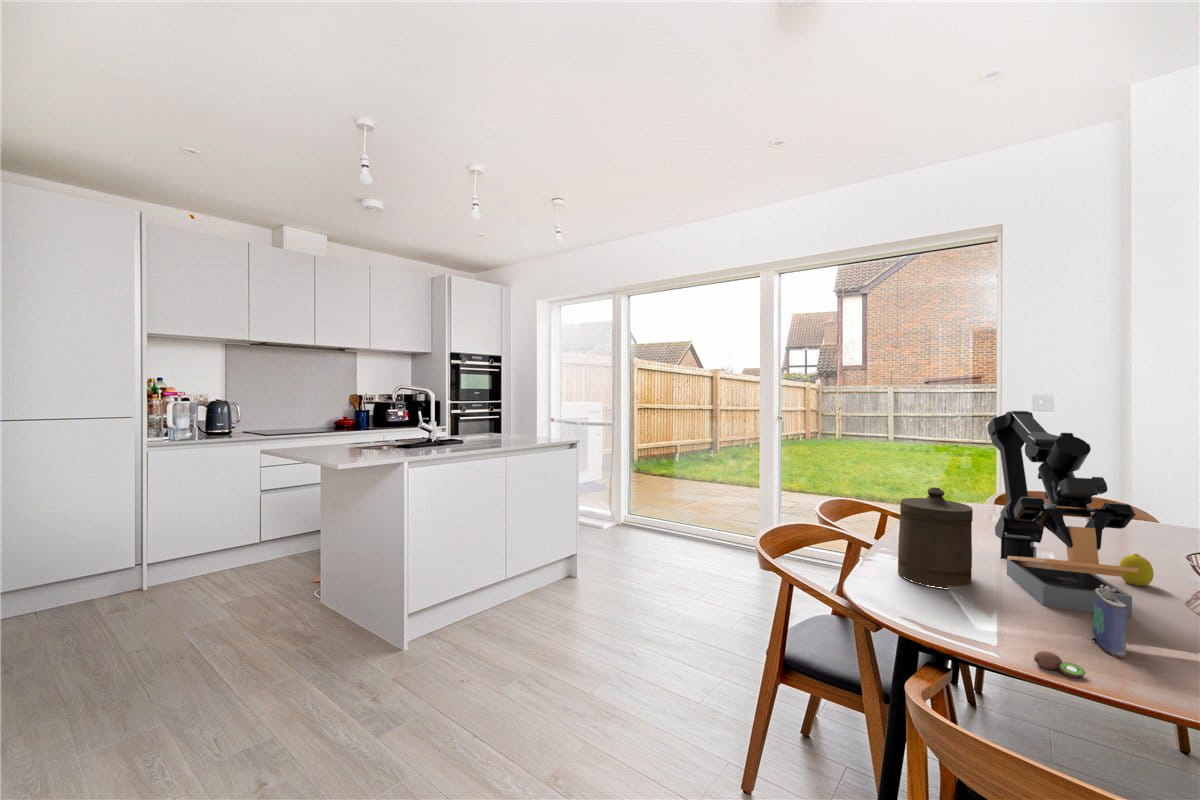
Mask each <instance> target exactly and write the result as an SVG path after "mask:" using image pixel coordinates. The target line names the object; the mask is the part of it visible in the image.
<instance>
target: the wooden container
mask: <svg viewBox="0 0 1200 800" xmlns="http://www.w3.org/2000/svg"><path fill="white" fill-rule="evenodd" d="M945 493H946V492H945V491H944V490H942V489H941V488H940V487H934V486H933V487H930V488H928V489H927V495H928V496H926V497H908V498H907V497H906V498H902V499H901V500H900V507H899V510H900V512H899V513H900V514H899V526H898V527H899V528H898V529H899V531H898V544H897V545H898V551H897V557H898V558H897V574H898V573H899V574H900V575H901V576H903V577H905V578H907V579H909V580H912V581H914V582H917V583H921V584H924V585H929V586H935V587H942V588H950V587H964V586H969V585H971V583H972V575H973V573H972V568H973V545H972V544H973V543H972V541H973V539H972V534H973V533H972V528H973V527H972V523H973V517H974V514H973V507H972V506H970V505H969V504H965V503H962V502H959V501H958V502H957V501H952V500H946V499H945V498H944V496H945ZM899 574H898V575H899ZM900 575H899V576H900ZM901 576H900V577H901ZM903 577H902V578H903Z"/></svg>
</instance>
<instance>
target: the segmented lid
mask: <svg viewBox="0 0 1200 800" xmlns="http://www.w3.org/2000/svg"><path fill="white" fill-rule="evenodd" d="M1066 527H1067V529H1068V532H1069V534H1070V536H1071V539H1072V543H1073V546H1072V548H1069V547H1068V546H1067V545H1066V544H1065V546H1066V554H1067V560H1065V559H1064V560H1063V559H1052V558H1051V559H1050V558H1044V557H1043V558H1041V557H1036V558H1030V557H1017V556H1008V559H1010V560H1019V564H1020V565H1022V566H1026V567H1035V568H1044V569H1053V570H1062V571H1071V572H1081V573H1090V574H1096V575H1098V576H1099V575H1101V576H1108V577H1120V578H1122V577H1123V571H1130V572H1139V571H1138V568H1133V567H1123V566H1119V565H1113V564H1102V563H1101V564H1100V561H1099V550H1098V549H1097V540H1096V531H1095V528H1085V526H1083V527H1082V526H1071V525H1069V526H1067V525H1066Z"/></svg>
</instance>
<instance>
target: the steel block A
mask: <svg viewBox="0 0 1200 800" xmlns="http://www.w3.org/2000/svg"><path fill="white" fill-rule="evenodd" d="M1053 585H1055V586H1060V587H1066V588H1075V589H1083V590H1084V583H1082V582H1081V581H1079V580H1078V579H1076V578H1072V577H1063V576H1053Z"/></svg>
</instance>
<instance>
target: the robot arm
mask: <svg viewBox="0 0 1200 800" xmlns="http://www.w3.org/2000/svg"><path fill="white" fill-rule="evenodd" d="M987 432H988V435H989V436H990V440H991V443H992V444H993V445H994V446H995V447H996V448H997V450H999V452H1000V453H999V454H1000V460H1001V467H1002V477H1003V483H1004V484H1003V485H1004V491H1005V498H1006V499H1005V501H1006V503H1005V505H1004V506H1003V508H1002V509H1001V511H1000V516H999V518H998V520H997V522H996V524H995V526H994V531H995V532H994V533H995V536H996V537H997V538H999V539H1000V557H999V559H1002V560H1007V558H1008V556H1017V557H1030V558H1037V547H1036V546H1035V543H1036V544H1037V543H1039V544H1041V543H1042V538H1043V535H1044V528H1046V529H1047V530H1048V531H1049V532H1051V533H1052V534H1053V535H1055V537H1057V538H1058V540H1060V541H1061V542H1062V543H1063V544H1065V546H1066V545H1067V546H1068V547H1069V548H1072V546H1073V543H1072V539H1071V536H1070V534H1069V532H1068V529H1067V527H1066V526H1067V525H1066V523H1065V520H1064V517H1069V518H1081V519H1082V518H1084V519H1085V520H1086V524H1085V526H1084V527H1085V528H1095V531H1096V540H1097V549H1098V551H1100V550H1101V548H1102V537H1103V530H1104V529H1107V528H1108V529H1125V528H1126V527H1127V526H1128V524H1129V523H1130V522H1131V521H1132V520H1133V518H1134V517H1135V516H1136V512H1135V510H1134V508H1133V506H1131V505H1130V504H1128V503H1122V502H1107V501H1105V502H1104V504H1103V505H1102V506H1101V507H1100V508H1095V507H1089V506H1088V505H1091V504H1092V502H1093V499H1092V497H1094V496H1098V495H1103V494H1104V493H1107V492H1108V490H1109V489H1108V484H1107V482H1106V479H1104V477H1102V476H1092V477H1089V478H1088V477H1087V478H1086V477H1076V476H1075V473H1074V472H1077V471H1079V470H1080V469H1081V467H1082V465H1083V464H1084V462H1085V461H1086V459H1087V457H1088V455H1089V453H1091V451H1092V449H1091V445H1090V444H1089V443H1088V442H1086V441H1085V440H1084V439H1082V438H1080V437H1077V436H1075V435H1074V433H1073V432H1060V434H1059V435H1055V434H1053V433H1049V432H1048V431H1047V430H1045V428H1044V427H1043V426H1042V425H1041V424H1040V423H1039V422H1038V421H1037V420H1036V419H1035V418H1034V415H1033V413H1032V412H1031V411H1027V410H1009V411H1007V412H1005V414H1003V415H1002V414H1001V415H999V416H997V417H993V418H992V419H991V421H990V422H989V423H988V426H987ZM1024 444H1025V445H1024ZM1023 447H1024V454H1025V456H1026V457H1027V459H1028V460H1029V461H1030V462H1031V463H1041V464H1040V465H1039V466H1038V469H1037V470H1038V474H1037V479H1039V480H1041V481H1042V484H1043V487H1044V491H1045V493H1044V495H1043V496H1044V498H1045V499H1047V500H1048V501H1049V502H1045V500H1044V499H1043V498H1042V497H1033V496H1032V497H1031V496H1029V494H1028V485H1027V477H1026V472H1025V465H1024V458H1023V451H1022V448H1023ZM1067 546H1066V547H1067Z"/></svg>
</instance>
